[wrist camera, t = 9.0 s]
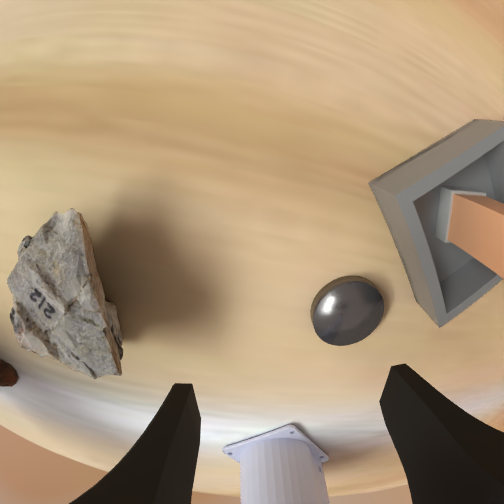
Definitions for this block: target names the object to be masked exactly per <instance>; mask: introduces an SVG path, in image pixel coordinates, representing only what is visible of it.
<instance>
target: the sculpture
mask: <svg viewBox="0 0 504 504" xmlns="http://www.w3.org/2000/svg"><path fill="white" fill-rule="evenodd" d="M18 378H19V377H18V374H17V372H16V370H15V369H14V368H13V367H12V366H11V365H10V364H7V363H5V362H3V361H2V360H0V386H11V387H12V386H13V385H15V384H16V382H17V380H18Z"/></svg>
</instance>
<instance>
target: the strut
mask: <svg viewBox="0 0 504 504" xmlns="http://www.w3.org/2000/svg"><path fill="white" fill-rule="evenodd" d="M435 237H437V238H438V239H440V240H441V241H443V242H444V243H449V242H452V243H453V244H455V245H456V246H458V247H459V248H461V249H462V250H464V251H465V252H467V253H468V254H470V255H471V256H473V257H474V258H475V259H477V260H478V261H480V262H481V263H483V264H484V265H485V266H487V267H488V268H490V269H491V270H492V271H494V272H495V273H496V274H498V275H499V276H500V277H502V278H503V279H504V204H503V203H501V202H499V201H496V200H494V199H491V198H489V197H486V193H485V192H482V191H480V190H477V189H469V188H457V187H442V186H441V192H440V202H439V211H438V219H437V227H436V233H435Z"/></svg>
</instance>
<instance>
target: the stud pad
mask: <svg viewBox="0 0 504 504" xmlns="http://www.w3.org/2000/svg"><path fill="white" fill-rule="evenodd" d="M383 311H384V303H383V299H382V296H381V295H380V293H379V292H378V290H377V289H376V288H375V287H374V285H373V284H372V283H371V282H370V281H368V280H367V279H365V278H362V277H359V276H345V277H341V278H338V279H335V280H333V281H332V282H330V283H328V284H327V285H326V286H324V287H323V288H322V289H321V290H320V291H319V293H318V294H317V295H316V297H315V298H314V301H313V303H312V306H311V320H312V323H313V326H314V329H315V332H316V333H317V335H318V336H319V338H321V339H322V340H323V341H325V342H326V343H328V344H332V345H337V346H344V345H350V344H354V343H356V342H359V341H361V340H363V339H364V338H366V337H367V336H368V335H370V334H371V333H372V332H373V331H374V330H375V328H376V327H377V326H378V324H379V323H380V321H381V318H382V316H383Z"/></svg>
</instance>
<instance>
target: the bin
mask: <svg viewBox="0 0 504 504" xmlns="http://www.w3.org/2000/svg"><path fill="white" fill-rule="evenodd" d="M369 185H370V187H371V190H372V192H373V194H374V196H375V198H376V200H377V202H378V205H379V207H380V209H381V211H382V214H383V216H384V218H385V220H386V223H387V225H388V227H389V230H390V232H391V235H392V237H393V239H394V242H395V244H396V247H397V249H398V252H399V255H400V257H401V260H402V262H403V265H404V268H405V270H406V273H407V276H408V279H409V281H410V284H411V287H412V290H413V293H414V296H415V299H416V302H417V303H418V304H419V305H420V306H421V307H422V308H423V310H424V311H425V312H426V313H427V314H428V315H429V317H430V318H431V319H432V320H433V321H434V322H435V324H436V325H437V326H438V327H439V328H440V327H442V326H443V325H445V324H446V323H447V322H449V321H450V320H452V319H453V318H454V317H456V316H457V315H458V314H460V313H461V312H462V311H464V310H465V309H466V308H468V307H469V306H470V305H472V304H473V303H474V302H475V301H477V300H478V299H479V298H480V297H482V296H483V295H484V294H485V293H487V292H488V291H489V290H490V289H492V288H493V287H494V286H495V285H496V284H497V283H499V282H500V281H501V280H502V279H503V278H502V277H500V276H499V275H498V274H496V273H495V272H494V271H492V270H491V269H490V268H488V267H487V266H485V265H484V264H483V263H481V262H480V261H478V260H477V259H475V258H474V257H473V256H471V255H470V254H468V253H467V252H465V251H464V250H462V249H461V248H459V247H458V246H456V245H455V244H453V243H452V242H449V243H444V242H443V241H441V240H440V239H438V238H437V237H435V233H436V227H437V219H438V211H439V202H440V192H441V186H442V187H457V188H469V189H477V190H480V191H482V192H485V193H486V197H489V198H491V199H494V200H496V201H499V202H501V203H503V204H504V122H503V121H491V120H478V119H474V120H473V121H471V122H469V123H468V124H466V125H464V126H463V127H461V128H459V129H458V130H456V131H454V132H453V133H451V134H449V135H448V136H446V137H444V138H443V139H441V140H439V141H438V142H436V143H434V144H433V145H431V146H429V147H428V148H426V149H424V150H423V151H421V152H419V153H418V154H416V155H414V156H413V157H411V158H409V159H408V160H406V161H404V162H403V163H401V164H399V165H398V166H396V167H394V168H392V169H391V170H389V171H387V172H386V173H384V174H382V175H381V176H379V177H377V178H376V179H374V180H372V181H371V182H369Z"/></svg>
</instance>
